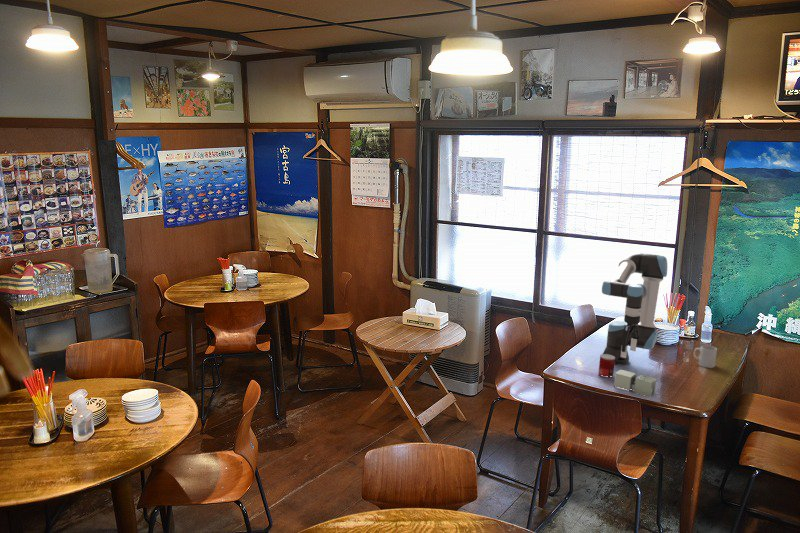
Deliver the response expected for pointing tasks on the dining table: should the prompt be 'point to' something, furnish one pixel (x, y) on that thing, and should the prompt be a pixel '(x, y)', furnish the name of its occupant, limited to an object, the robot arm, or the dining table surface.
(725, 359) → the dining table surface
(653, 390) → the pale grey block
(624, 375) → the beige hollow box
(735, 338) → the dining table surface
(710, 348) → the mug
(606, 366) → the canned food
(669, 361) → the dining table surface
